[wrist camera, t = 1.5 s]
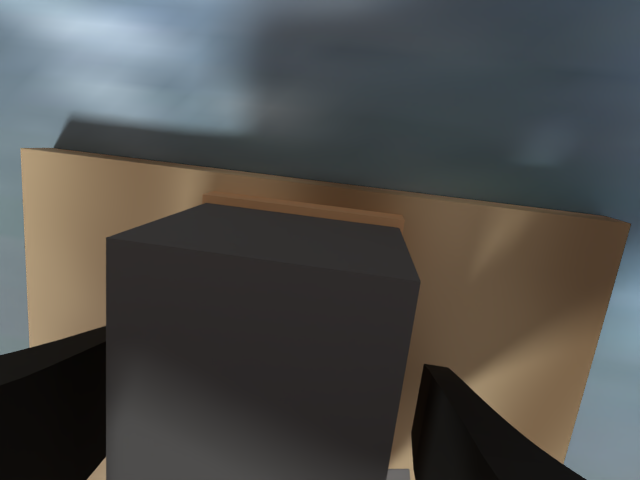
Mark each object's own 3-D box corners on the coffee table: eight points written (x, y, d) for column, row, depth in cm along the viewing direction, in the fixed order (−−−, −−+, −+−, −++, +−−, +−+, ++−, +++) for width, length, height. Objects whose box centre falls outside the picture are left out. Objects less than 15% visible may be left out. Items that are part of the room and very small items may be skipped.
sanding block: (402, 215, 11) (430, 269, 6) (356, 505, 13) (349, 718, 8) (213, 191, 11) (99, 223, 6) (197, 475, 13) (101, 663, 9)
